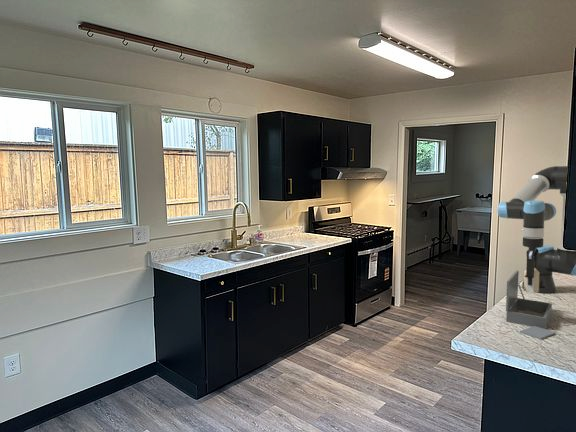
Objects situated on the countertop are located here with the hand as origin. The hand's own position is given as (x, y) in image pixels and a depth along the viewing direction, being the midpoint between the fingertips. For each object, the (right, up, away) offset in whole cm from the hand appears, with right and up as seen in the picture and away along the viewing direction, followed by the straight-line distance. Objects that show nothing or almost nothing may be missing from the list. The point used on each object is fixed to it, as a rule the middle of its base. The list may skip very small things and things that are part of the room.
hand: (531, 290), depth 173 cm
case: (0, -12, +1) cm, 12 cm away
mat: (-7, -14, -16) cm, 22 cm away
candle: (0, -1, 0) cm, 1 cm away
